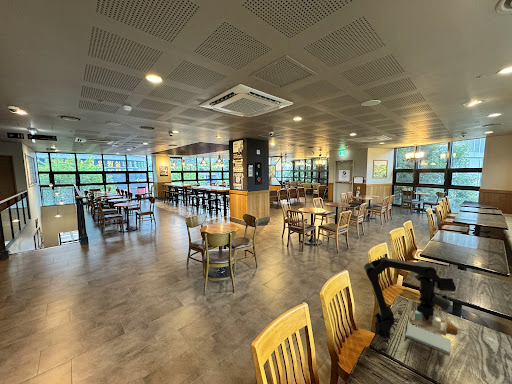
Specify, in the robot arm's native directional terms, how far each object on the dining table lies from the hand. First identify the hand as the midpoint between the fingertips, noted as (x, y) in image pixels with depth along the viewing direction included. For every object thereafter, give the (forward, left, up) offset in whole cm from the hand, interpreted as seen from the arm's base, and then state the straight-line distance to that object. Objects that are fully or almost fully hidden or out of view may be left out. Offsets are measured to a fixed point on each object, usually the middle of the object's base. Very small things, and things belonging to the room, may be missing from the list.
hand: (427, 318), depth 105 cm
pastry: (+5, +19, -14) cm, 24 cm away
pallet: (0, 0, -4) cm, 4 cm away
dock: (0, +1, -13) cm, 13 cm away
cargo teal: (-3, 0, -2) cm, 4 cm away
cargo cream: (+4, 0, -2) cm, 4 cm away
